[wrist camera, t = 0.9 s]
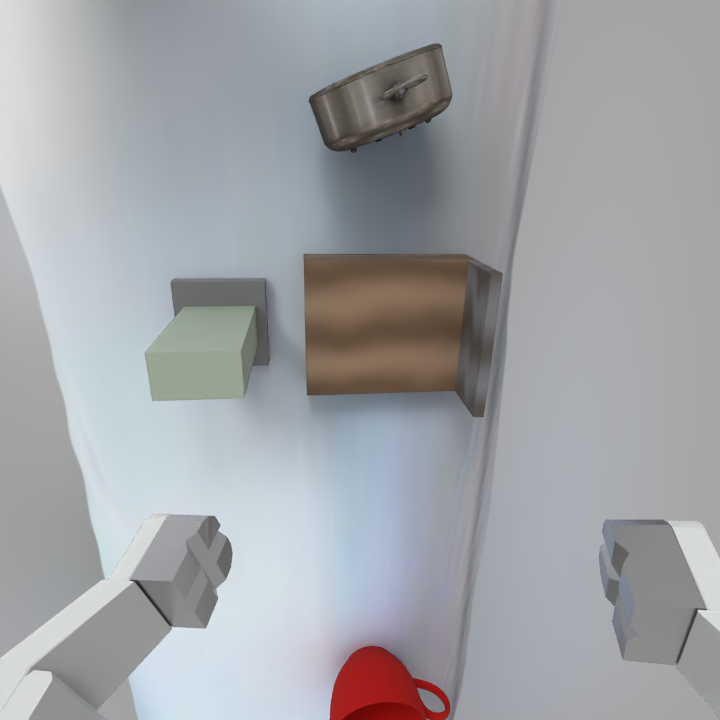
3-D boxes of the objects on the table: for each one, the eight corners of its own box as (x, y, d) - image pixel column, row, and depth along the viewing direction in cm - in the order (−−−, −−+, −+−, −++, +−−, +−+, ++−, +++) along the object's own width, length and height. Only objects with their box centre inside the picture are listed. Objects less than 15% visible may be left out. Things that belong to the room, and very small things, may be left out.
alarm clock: (417, 59, 43) (480, 0, 28) (434, 121, 45) (500, 98, 30) (305, 104, 43) (308, 69, 28) (326, 164, 45) (340, 161, 30)
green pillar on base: (174, 278, 48) (125, 320, 34) (265, 278, 49) (252, 319, 35) (184, 361, 51) (143, 429, 38) (269, 359, 52) (258, 425, 39)
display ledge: (303, 254, 48) (304, 273, 39) (465, 254, 50) (502, 273, 41) (306, 379, 53) (307, 423, 44) (452, 375, 55) (483, 416, 46)
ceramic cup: (431, 685, 76) (449, 757, 66) (324, 693, 73) (328, 768, 64) (441, 626, 71) (462, 694, 62) (328, 633, 69) (332, 705, 59)
